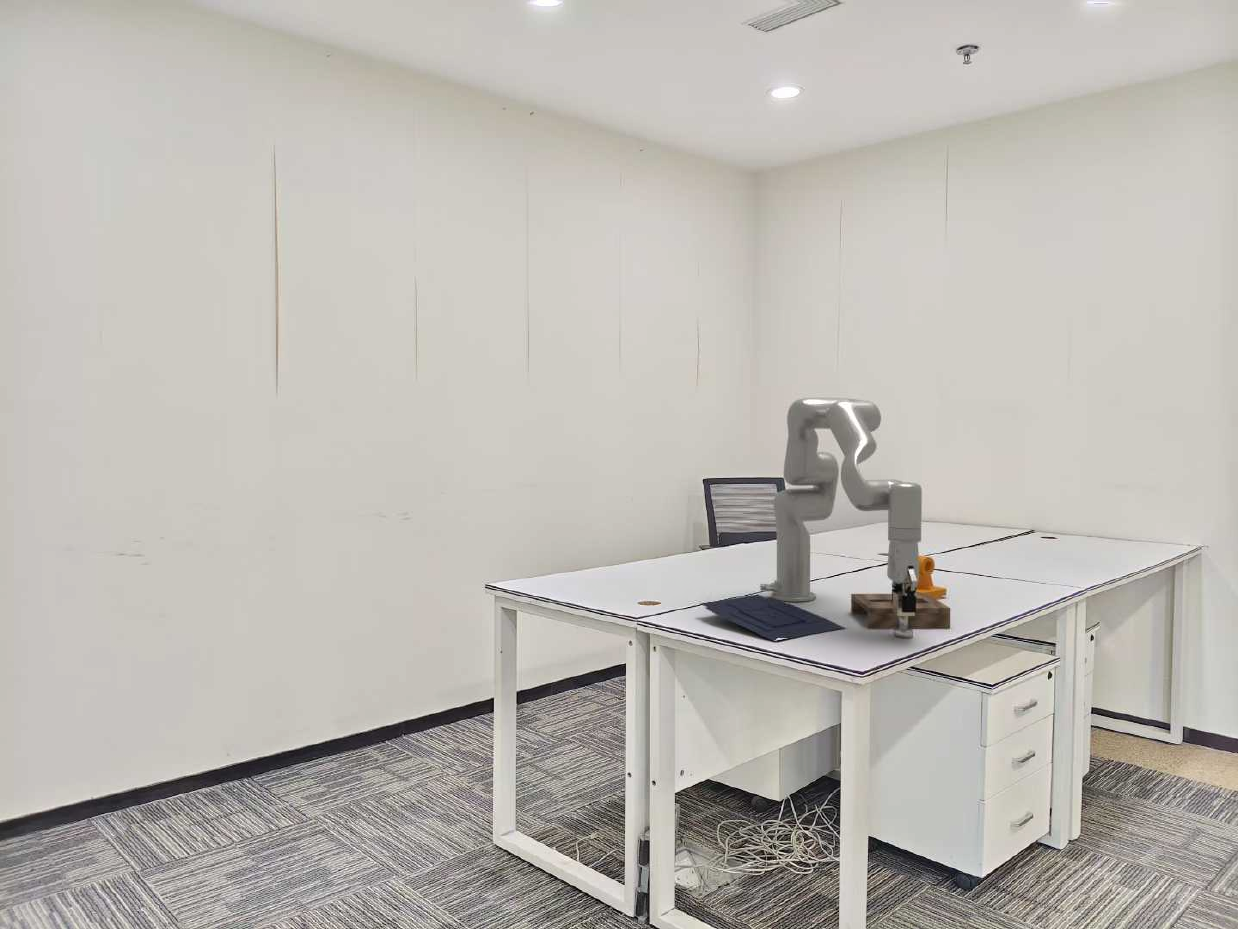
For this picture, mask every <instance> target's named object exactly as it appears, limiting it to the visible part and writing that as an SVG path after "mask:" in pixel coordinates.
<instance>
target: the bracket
mask: <svg viewBox="0 0 1238 929" xmlns="http://www.w3.org/2000/svg"><path fill="white" fill-rule="evenodd" d="M934 571H935V560H934V559H933V557H930V556H926V555H925V556H924V555H919V580H918V583H917V586H916V587H917V588H916V589H917V590H916V593H917V594H928V595H929V596H931V597H933V598H934V599H936V600H938V601H939V600H941V599H943V597H944V596H945V597H946V596H947V588H946V587H940V586H935V585H934V583H933V582H934V581H933V579H932V574H933V573H934ZM905 582H910V581H905ZM907 587H908V586H906V589H907ZM902 589H903V588H902Z"/></svg>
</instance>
